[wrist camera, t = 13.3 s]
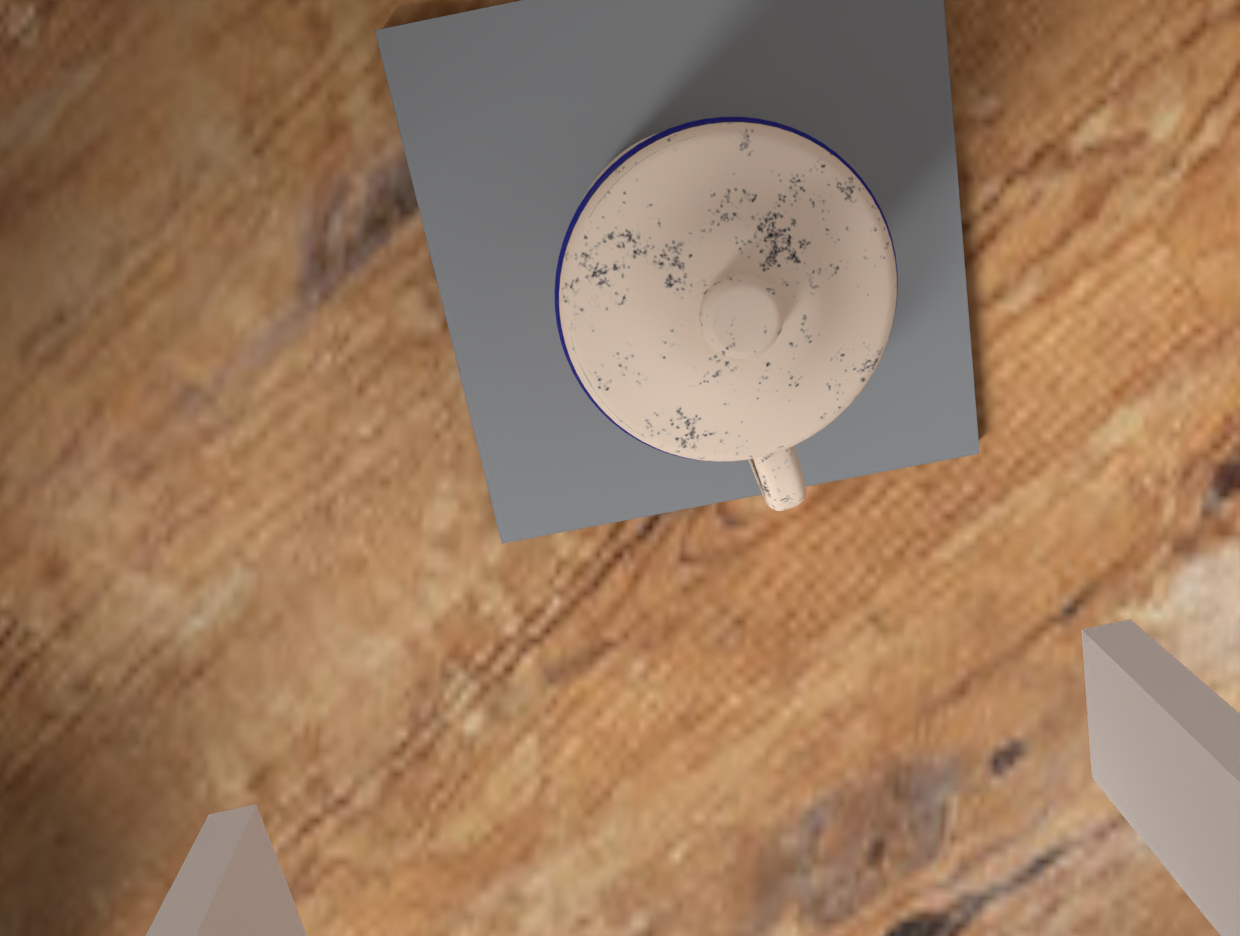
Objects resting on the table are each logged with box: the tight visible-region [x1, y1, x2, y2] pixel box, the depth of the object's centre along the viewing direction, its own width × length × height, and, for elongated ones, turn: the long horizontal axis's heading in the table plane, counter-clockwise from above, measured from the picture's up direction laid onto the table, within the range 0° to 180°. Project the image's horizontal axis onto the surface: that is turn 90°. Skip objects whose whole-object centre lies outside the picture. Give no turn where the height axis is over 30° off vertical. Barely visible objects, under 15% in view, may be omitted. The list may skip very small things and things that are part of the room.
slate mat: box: [375, 0, 980, 543], centre depth 35 cm, size 18×18×1 cm
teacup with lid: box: [554, 117, 898, 511], centre depth 30 cm, size 12×9×12 cm
